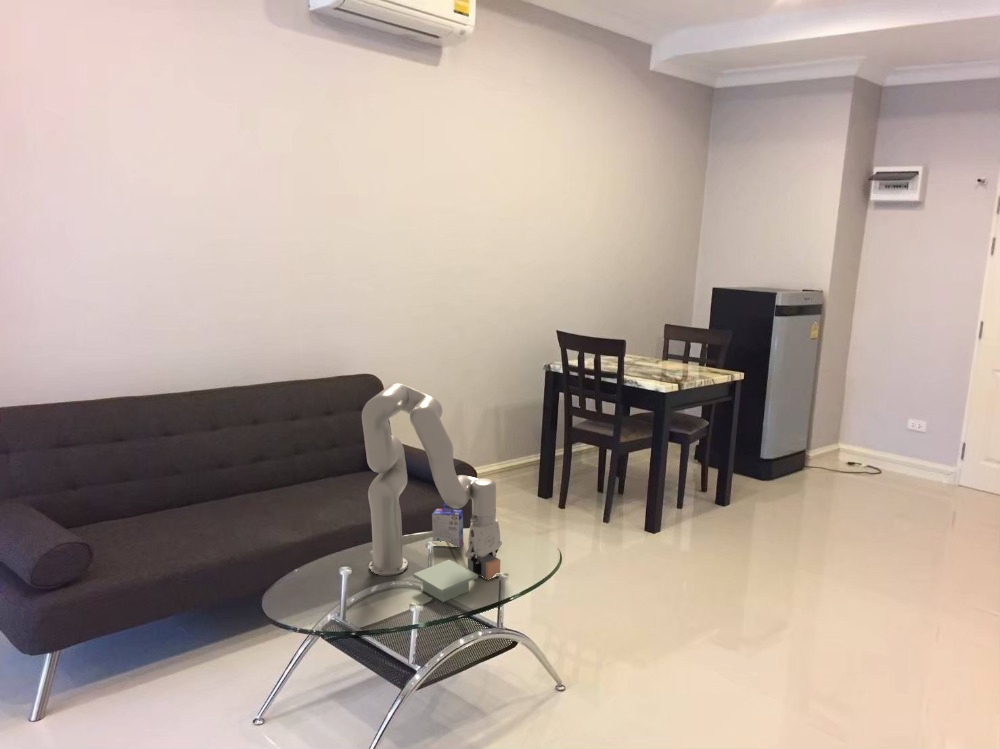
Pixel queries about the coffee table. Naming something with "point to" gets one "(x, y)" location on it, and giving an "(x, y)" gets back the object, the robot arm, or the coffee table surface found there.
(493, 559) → the block
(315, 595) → the coffee table surface
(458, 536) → the ink cartridge box
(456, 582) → the stand
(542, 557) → the coffee table surface
